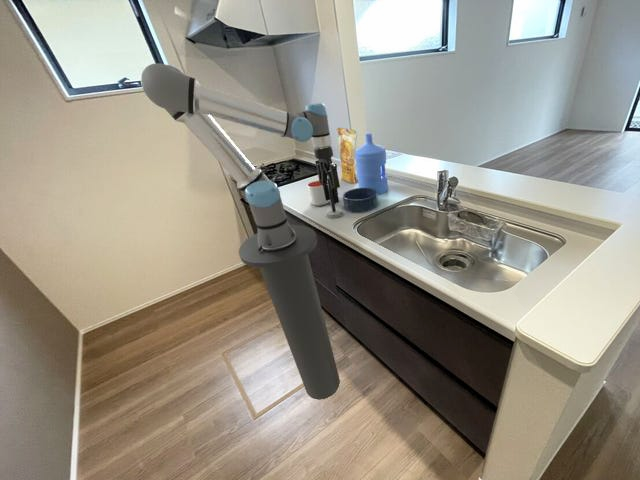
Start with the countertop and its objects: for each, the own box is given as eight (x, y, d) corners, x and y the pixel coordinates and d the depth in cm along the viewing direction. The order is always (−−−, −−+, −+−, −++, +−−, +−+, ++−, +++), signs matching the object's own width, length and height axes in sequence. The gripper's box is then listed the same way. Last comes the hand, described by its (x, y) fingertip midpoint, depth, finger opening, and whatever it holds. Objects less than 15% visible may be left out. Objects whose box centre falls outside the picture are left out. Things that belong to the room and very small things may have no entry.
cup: (318, 198, 159) (314, 179, 153) (334, 200, 155) (330, 180, 149) (307, 205, 152) (303, 186, 146) (323, 207, 148) (319, 187, 142)
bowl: (358, 215, 136) (356, 203, 132) (337, 206, 147) (336, 195, 143) (385, 204, 143) (384, 192, 140) (364, 196, 154) (362, 185, 151)
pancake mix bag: (348, 175, 188) (341, 126, 172) (362, 181, 174) (357, 129, 158) (338, 177, 186) (331, 128, 170) (352, 184, 172) (346, 131, 156)
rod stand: (332, 219, 135) (325, 181, 125) (325, 215, 139) (318, 178, 129) (344, 214, 138) (338, 177, 128) (336, 211, 142) (330, 175, 132)
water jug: (364, 198, 153) (358, 139, 136) (355, 189, 165) (348, 134, 149) (392, 192, 156) (389, 134, 140) (382, 183, 168) (378, 129, 152)
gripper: (343, 147, 117) (351, 203, 130) (318, 142, 129) (328, 194, 143) (327, 151, 113) (336, 208, 127) (303, 146, 126) (314, 199, 139)
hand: (332, 201), depth 135 cm, fingers open, 6 cm apart
